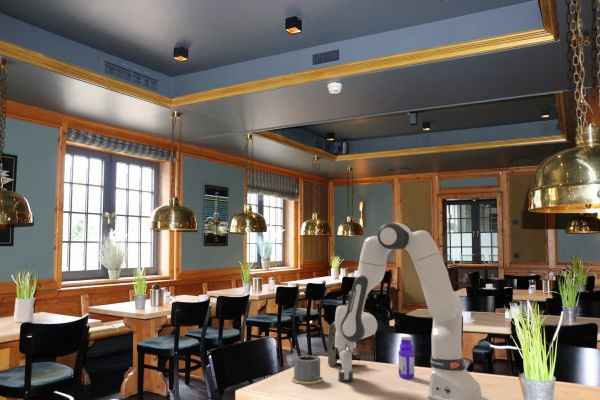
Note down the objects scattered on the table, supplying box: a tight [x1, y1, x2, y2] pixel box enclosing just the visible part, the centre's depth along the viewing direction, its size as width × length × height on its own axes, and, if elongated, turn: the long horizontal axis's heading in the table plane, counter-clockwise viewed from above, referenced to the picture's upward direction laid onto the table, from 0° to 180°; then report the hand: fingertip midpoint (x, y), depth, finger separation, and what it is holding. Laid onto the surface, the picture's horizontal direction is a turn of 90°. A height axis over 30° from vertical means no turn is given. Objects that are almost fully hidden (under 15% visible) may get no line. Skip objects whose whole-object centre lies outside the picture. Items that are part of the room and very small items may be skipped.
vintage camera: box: [327, 320, 363, 367], centre depth 247 cm, size 10×16×20 cm, turn 78°
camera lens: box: [338, 369, 354, 383], centre depth 218 cm, size 6×6×4 cm
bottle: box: [398, 335, 415, 380], centre depth 224 cm, size 7×6×17 cm
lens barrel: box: [291, 355, 324, 385], centre depth 218 cm, size 13×13×9 cm
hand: (345, 376), depth 218 cm, fingers closed on camera lens, 6 cm apart
